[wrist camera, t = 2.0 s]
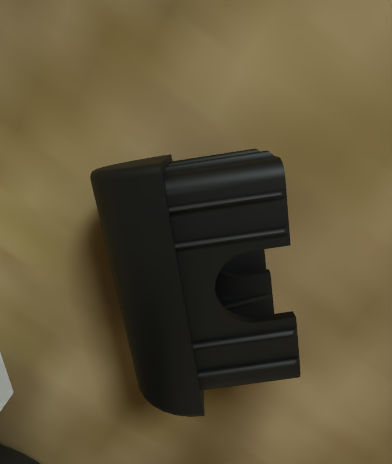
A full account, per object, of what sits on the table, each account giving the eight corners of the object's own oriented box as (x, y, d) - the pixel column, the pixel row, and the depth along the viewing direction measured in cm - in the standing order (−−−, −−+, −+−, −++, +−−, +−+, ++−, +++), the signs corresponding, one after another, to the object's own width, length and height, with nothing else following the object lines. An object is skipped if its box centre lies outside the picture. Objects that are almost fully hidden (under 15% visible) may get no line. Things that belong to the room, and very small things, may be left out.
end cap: (112, 162, 17) (63, 178, 11) (251, 141, 17) (288, 143, 10) (149, 333, 20) (127, 429, 13) (268, 317, 20) (307, 406, 13)
